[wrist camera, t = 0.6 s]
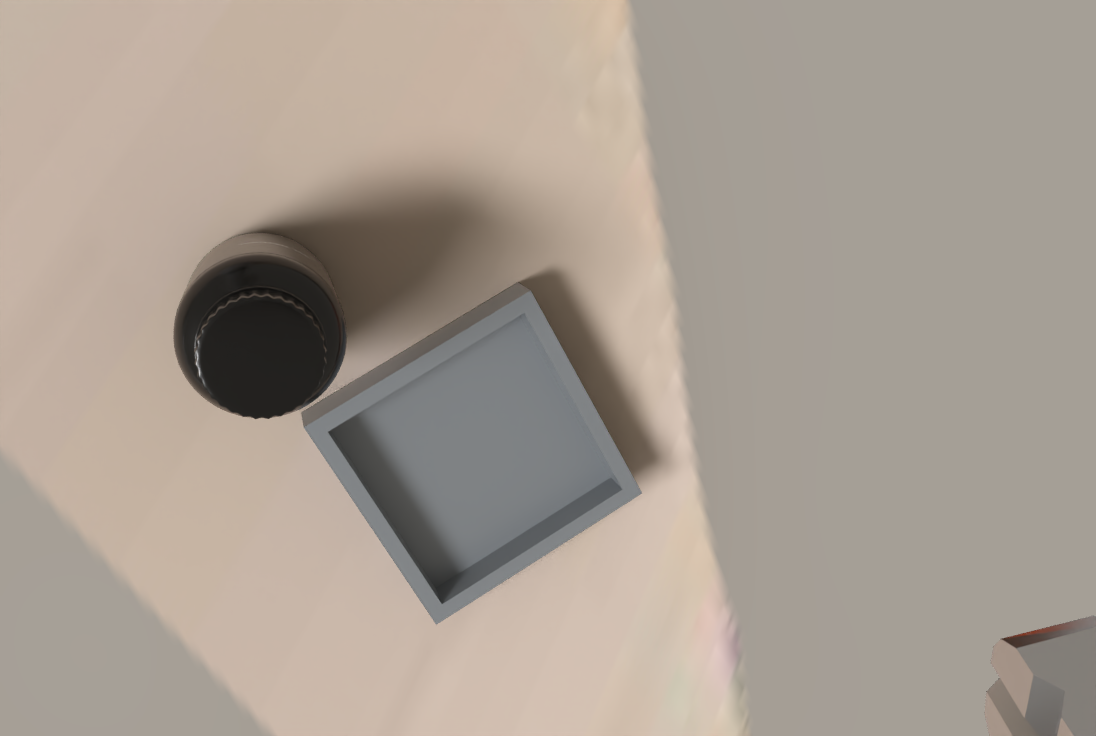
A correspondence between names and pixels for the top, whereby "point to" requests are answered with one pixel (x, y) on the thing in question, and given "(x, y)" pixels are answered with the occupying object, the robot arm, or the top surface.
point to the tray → (473, 451)
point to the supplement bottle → (260, 327)
